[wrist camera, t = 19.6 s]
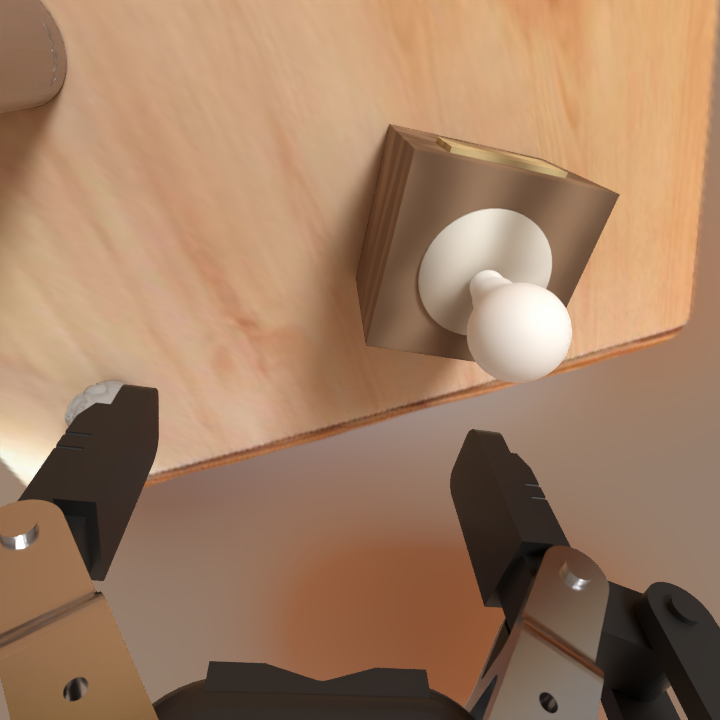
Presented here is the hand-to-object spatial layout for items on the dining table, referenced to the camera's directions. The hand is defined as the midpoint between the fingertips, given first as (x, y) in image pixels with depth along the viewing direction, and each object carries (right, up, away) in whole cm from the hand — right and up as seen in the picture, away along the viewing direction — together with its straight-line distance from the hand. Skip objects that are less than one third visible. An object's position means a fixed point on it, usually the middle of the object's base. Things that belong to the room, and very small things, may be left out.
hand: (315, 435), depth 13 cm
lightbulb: (+10, +8, +24) cm, 27 cm away
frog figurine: (-27, -1, +44) cm, 52 cm away
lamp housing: (+10, +16, +36) cm, 40 cm away
